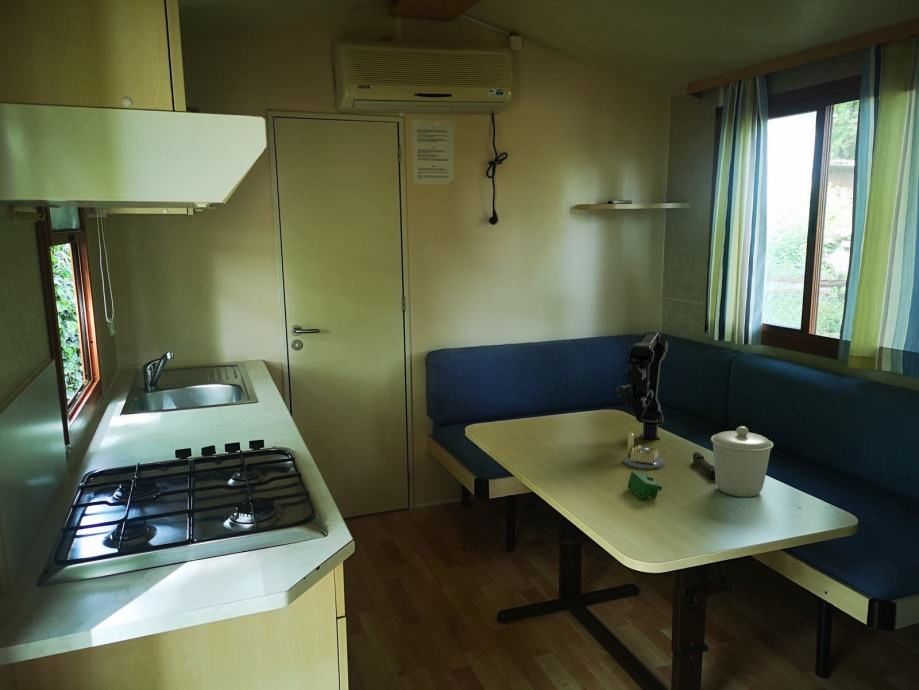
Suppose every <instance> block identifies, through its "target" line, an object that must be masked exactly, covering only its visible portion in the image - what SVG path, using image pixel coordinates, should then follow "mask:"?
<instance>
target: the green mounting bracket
mask: <svg viewBox="0 0 919 690" xmlns="http://www.w3.org/2000/svg"><path fill="white" fill-rule="evenodd" d="M653 480H654V478H653V477H652V476H651V475H650V474H648V473H643V472H637V471H632V470H631V472H630V476H629V480H628V483H627V489H628V490H629V491H630V492H631V493H632V494H633V495H635V496H636V498H637V499H638V500H641V501H643V500H644V501H648V500H649V497H650V498H657V496H658V492H659V491H662V490H663V489H662V488H663V484H662V483H660V482H656V481H653Z"/></svg>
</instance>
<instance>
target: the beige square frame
mask: <svg viewBox="0 0 919 690" xmlns="http://www.w3.org/2000/svg"><path fill="white" fill-rule="evenodd" d="M634 441H635V435H634V433H631V432H630V433H628V434H627V455H626V456H627V457H628V458H630V461H636V462H643V463H650V464H654V463H655V461H656V460H657V458H658V457H659V449H658V448H656V447H654V446H650V447H649V448H650V450H647V453H641V452H639V448H640V447H643V446H642V445H641V444H638V445H637V446H636V445H635V447H634V443H635V442H634Z"/></svg>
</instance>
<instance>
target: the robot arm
mask: <svg viewBox="0 0 919 690" xmlns="http://www.w3.org/2000/svg"><path fill="white" fill-rule="evenodd" d="M668 351H669V343H668V340H667V338H665V337H664V336H662V334H661V333H660V332H658V331H647V332H646V333H645V336H644V338H643V339H642V341H641V342H638V343H634V344H633V345H632V347H630V351H629V355H628V362H627V365H631V368H630V369H628V370H627V372H626V375H625V377H626V381H628V382H629V383H630V384H626V385H621V386H617V388H616V389H615V390H616V393H615V394H616V395H617V397H618V398H621V397H622V398H623V396H624V397H625V396H628V395H629V397H628V398H627V399H626V400H625V406H627V407H632V408H633V410H634V416H635V419H636V421H637V422H638V423H641V424H642V433H640V434H639V436H640V437H641V438H642V439H643V440H649V441H651V440H650V439H660V440H661V438H660V437H659V435H658V433H659V430H658V429H659V426H661V425H663V424H664V415H663V412H662V409H661V407H662V406H661V404H660V402H659V400H658V396H659V385H660V384H659V383H660V375H661V374H660V373H661V363H662V361H663V360H664V359H665V358H666V355H667V352H668Z"/></svg>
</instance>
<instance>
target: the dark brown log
mask: <svg viewBox="0 0 919 690" xmlns="http://www.w3.org/2000/svg"><path fill="white" fill-rule="evenodd" d="M692 463H693V465H694V467H695V468H697V467H698V468H699V469H700V471H702V472H703V473H704V474H705V476H708V479H709V481H715V482H716V479H715V468H714V465H713V464H710V463H709V462H708V461H707V460H706V459H705V457H704V455H702V454H701V453H700V452H697V451H696V452H695V451H694V452H693V454H692Z"/></svg>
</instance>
